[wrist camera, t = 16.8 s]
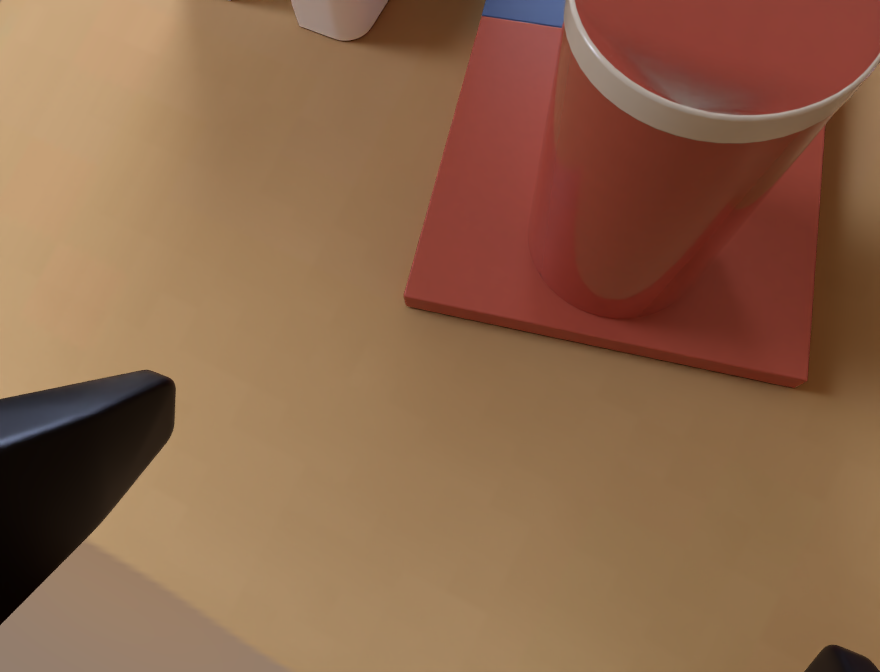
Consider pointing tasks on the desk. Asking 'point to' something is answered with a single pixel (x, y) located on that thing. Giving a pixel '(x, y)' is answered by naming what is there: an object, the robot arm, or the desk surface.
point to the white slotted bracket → (338, 16)
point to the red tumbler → (679, 134)
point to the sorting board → (508, 210)
